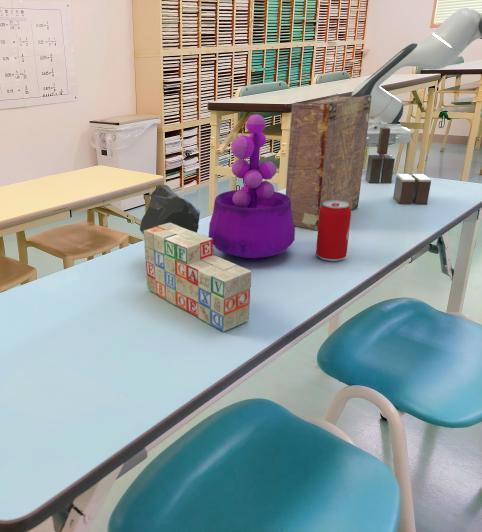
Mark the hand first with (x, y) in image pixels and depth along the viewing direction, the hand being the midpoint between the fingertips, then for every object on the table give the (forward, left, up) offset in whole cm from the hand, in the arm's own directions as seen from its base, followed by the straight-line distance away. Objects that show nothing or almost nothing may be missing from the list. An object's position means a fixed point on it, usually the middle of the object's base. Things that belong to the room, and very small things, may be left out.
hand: (381, 140), depth 168 cm
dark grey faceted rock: (+78, +64, -13) cm, 101 cm away
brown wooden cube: (+4, +26, -13) cm, 30 cm away
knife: (+1, +2, -13) cm, 13 cm away
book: (+33, +35, -13) cm, 50 cm away
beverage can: (+43, +64, -13) cm, 78 cm away
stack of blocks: (+75, +82, -13) cm, 112 cm away
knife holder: (+1, +2, -13) cm, 13 cm away
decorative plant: (+59, +58, -13) cm, 84 cm away
